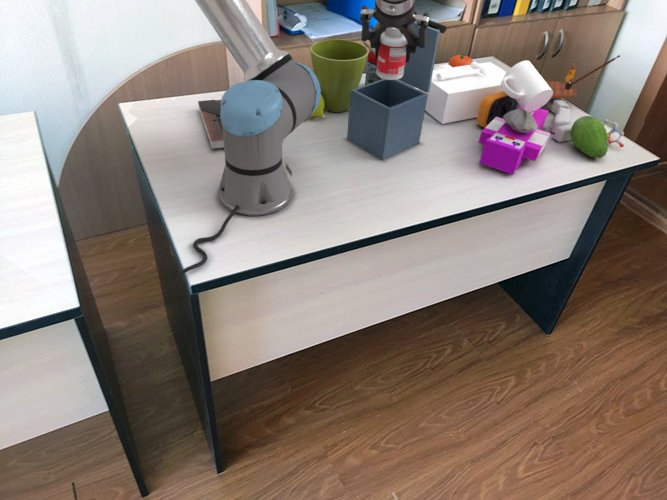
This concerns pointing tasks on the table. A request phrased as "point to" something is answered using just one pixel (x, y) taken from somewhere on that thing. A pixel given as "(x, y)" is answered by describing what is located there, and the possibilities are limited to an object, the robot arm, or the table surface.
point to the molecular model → (614, 132)
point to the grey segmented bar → (561, 121)
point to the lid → (423, 58)
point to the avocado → (590, 136)
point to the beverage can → (371, 69)
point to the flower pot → (338, 70)
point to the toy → (512, 143)
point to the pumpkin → (460, 61)
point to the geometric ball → (442, 66)
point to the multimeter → (495, 107)
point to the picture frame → (212, 121)
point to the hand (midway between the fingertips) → (393, 54)
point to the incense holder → (569, 83)
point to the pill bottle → (391, 54)
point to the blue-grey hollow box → (386, 117)
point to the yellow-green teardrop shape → (319, 108)
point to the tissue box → (462, 90)
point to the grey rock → (520, 121)
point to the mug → (526, 86)
